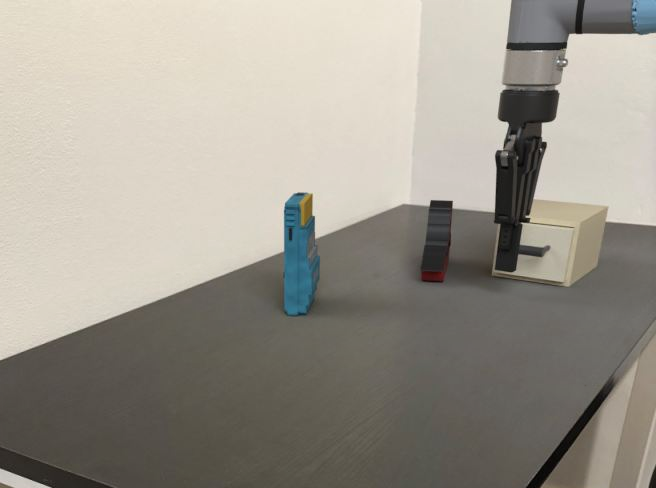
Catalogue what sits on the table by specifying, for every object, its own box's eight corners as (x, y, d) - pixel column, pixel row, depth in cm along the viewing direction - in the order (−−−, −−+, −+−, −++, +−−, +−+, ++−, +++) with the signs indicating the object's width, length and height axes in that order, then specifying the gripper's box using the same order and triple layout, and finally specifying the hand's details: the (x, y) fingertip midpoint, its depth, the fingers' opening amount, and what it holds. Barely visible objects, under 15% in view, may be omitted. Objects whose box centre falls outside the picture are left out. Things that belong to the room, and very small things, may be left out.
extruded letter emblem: (429, 258, 139) (435, 190, 133) (449, 259, 138) (456, 191, 132) (419, 286, 124) (425, 211, 118) (441, 287, 123) (449, 212, 117)
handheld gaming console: (293, 296, 120) (292, 191, 112) (319, 297, 120) (321, 192, 112) (281, 316, 112) (280, 204, 104) (310, 317, 111) (311, 205, 104)
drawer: (554, 288, 118) (563, 235, 114) (482, 278, 124) (488, 226, 120) (590, 263, 131) (599, 214, 126) (523, 254, 136) (530, 207, 132)
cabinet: (568, 287, 122) (580, 222, 117) (491, 275, 129) (499, 213, 124) (596, 266, 132) (608, 206, 127) (523, 256, 139) (532, 198, 134)
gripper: (540, 91, 97) (512, 284, 109) (575, 85, 106) (546, 264, 118) (483, 90, 101) (462, 276, 113) (521, 84, 110) (498, 257, 122)
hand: (505, 270), depth 116 cm, fingers closed
